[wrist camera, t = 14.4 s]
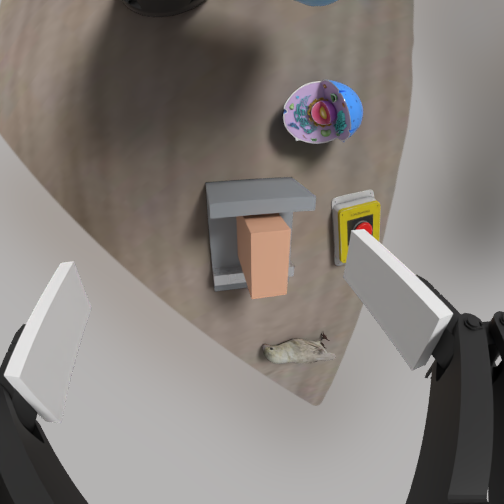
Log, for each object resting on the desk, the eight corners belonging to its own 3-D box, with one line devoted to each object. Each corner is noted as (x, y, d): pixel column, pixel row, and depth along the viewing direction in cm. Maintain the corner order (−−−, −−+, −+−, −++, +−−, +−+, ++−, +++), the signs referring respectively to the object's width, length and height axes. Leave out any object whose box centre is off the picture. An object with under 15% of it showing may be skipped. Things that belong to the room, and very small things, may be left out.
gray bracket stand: (205, 182, 43) (209, 203, 34) (291, 177, 45) (316, 196, 37) (214, 287, 53) (220, 324, 44) (286, 278, 55) (303, 311, 47)
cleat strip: (212, 268, 49) (213, 276, 47) (289, 259, 52) (294, 266, 50) (213, 278, 50) (214, 285, 48) (289, 268, 53) (293, 275, 51)
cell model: (266, 93, 38) (286, 90, 30) (334, 76, 38) (366, 73, 30) (286, 151, 43) (309, 164, 35) (349, 130, 43) (382, 139, 35)
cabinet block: (235, 200, 44) (250, 233, 34) (266, 198, 45) (290, 229, 35) (237, 259, 50) (251, 303, 39) (266, 256, 50) (286, 298, 40)
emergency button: (385, 195, 46) (382, 263, 54) (372, 187, 50) (371, 253, 58) (341, 206, 45) (343, 277, 53) (329, 197, 49) (333, 265, 57)
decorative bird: (262, 336, 62) (271, 360, 56) (326, 328, 66) (338, 350, 60) (260, 351, 65) (267, 375, 59) (321, 343, 69) (332, 365, 62)
